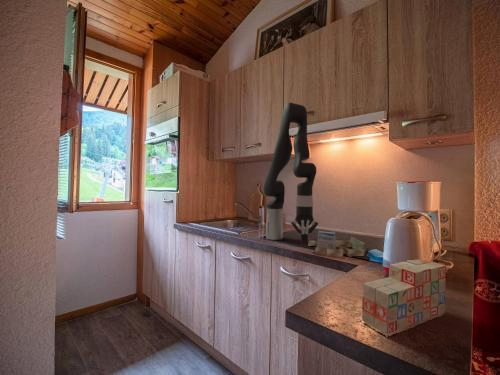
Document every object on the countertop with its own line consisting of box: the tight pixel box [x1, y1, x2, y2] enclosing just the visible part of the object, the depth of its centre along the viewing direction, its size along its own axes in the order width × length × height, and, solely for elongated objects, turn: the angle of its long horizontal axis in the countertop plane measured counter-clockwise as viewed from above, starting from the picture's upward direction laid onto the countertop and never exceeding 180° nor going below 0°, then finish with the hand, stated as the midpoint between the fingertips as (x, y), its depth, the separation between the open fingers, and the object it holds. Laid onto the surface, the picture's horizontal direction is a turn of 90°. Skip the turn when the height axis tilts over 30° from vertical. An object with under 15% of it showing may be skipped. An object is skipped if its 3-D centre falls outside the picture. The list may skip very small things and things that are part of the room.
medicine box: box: [317, 230, 337, 249], centre depth 116 cm, size 8×4×9 cm, turn 62°
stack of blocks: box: [361, 258, 447, 334], centre depth 57 cm, size 21×6×12 cm, turn 116°
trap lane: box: [307, 236, 366, 258], centre depth 114 cm, size 22×17×5 cm
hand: (304, 241), depth 115 cm, fingers closed
